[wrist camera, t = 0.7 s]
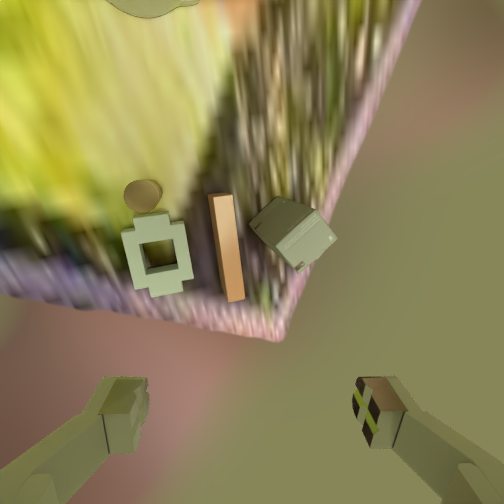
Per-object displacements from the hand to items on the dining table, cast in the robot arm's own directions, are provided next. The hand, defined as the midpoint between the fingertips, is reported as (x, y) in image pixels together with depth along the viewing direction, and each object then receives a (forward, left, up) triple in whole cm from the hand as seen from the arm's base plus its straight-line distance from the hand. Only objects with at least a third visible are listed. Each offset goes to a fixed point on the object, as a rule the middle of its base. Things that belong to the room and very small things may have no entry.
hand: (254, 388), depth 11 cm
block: (+7, -3, -43) cm, 43 cm away
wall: (+1, +7, -43) cm, 43 cm away
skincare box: (-5, +15, -43) cm, 46 cm away
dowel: (-2, -8, -43) cm, 44 cm away
